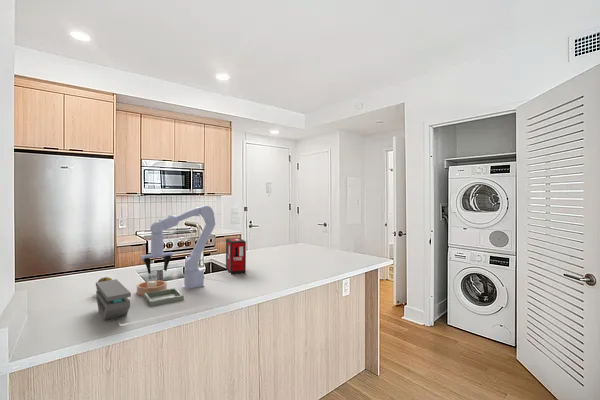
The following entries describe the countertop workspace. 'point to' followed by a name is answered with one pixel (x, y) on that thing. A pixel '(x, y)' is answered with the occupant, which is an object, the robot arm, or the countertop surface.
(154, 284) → the cream rounded capsule
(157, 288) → the bowl
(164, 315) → the countertop surface
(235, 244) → the cleaning product box
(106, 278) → the potato
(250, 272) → the countertop surface
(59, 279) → the countertop surface
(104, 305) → the grey storage case
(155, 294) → the parts tray
